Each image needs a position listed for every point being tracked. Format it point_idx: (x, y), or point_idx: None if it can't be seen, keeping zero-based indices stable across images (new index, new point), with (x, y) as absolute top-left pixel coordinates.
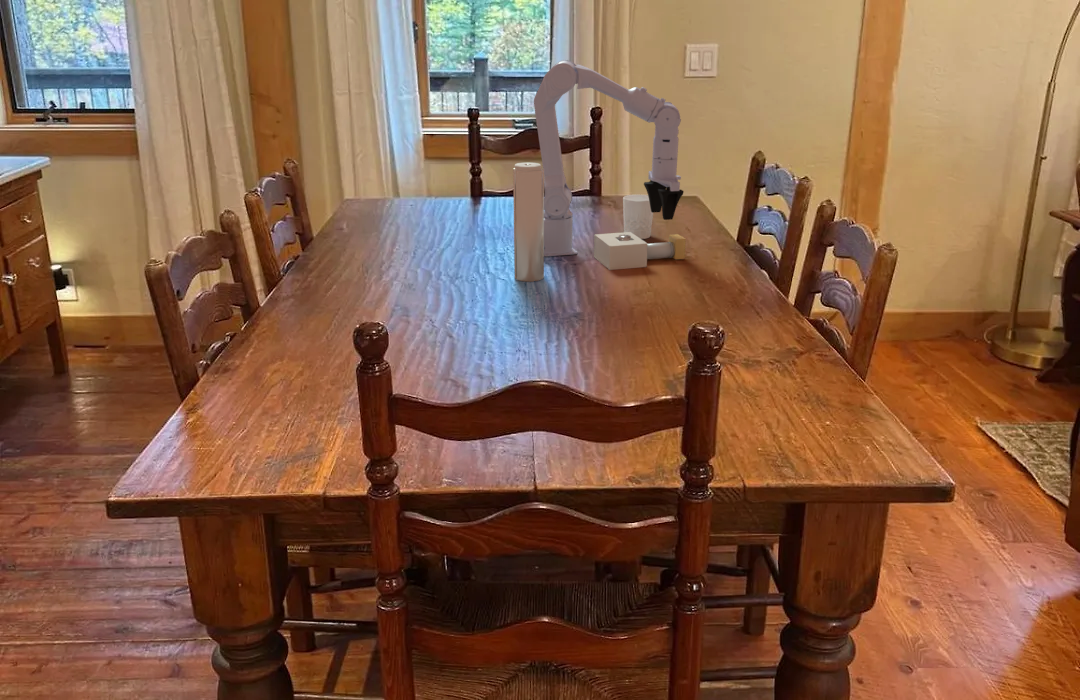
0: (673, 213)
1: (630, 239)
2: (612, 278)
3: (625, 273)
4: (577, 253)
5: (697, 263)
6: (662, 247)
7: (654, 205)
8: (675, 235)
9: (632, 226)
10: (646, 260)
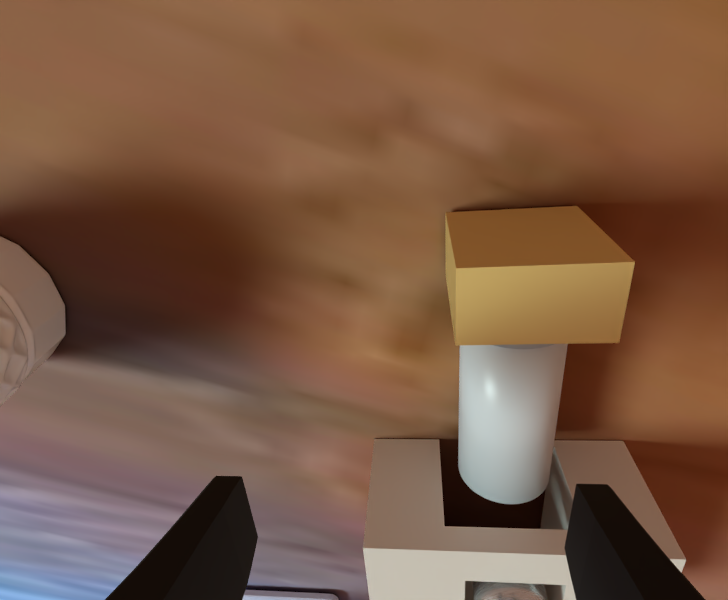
0: (652, 547)
1: (536, 592)
2: (716, 589)
3: (676, 537)
4: (333, 595)
5: (703, 148)
6: (559, 387)
7: (227, 596)
8: (487, 303)
9: (11, 389)
10: (636, 468)
